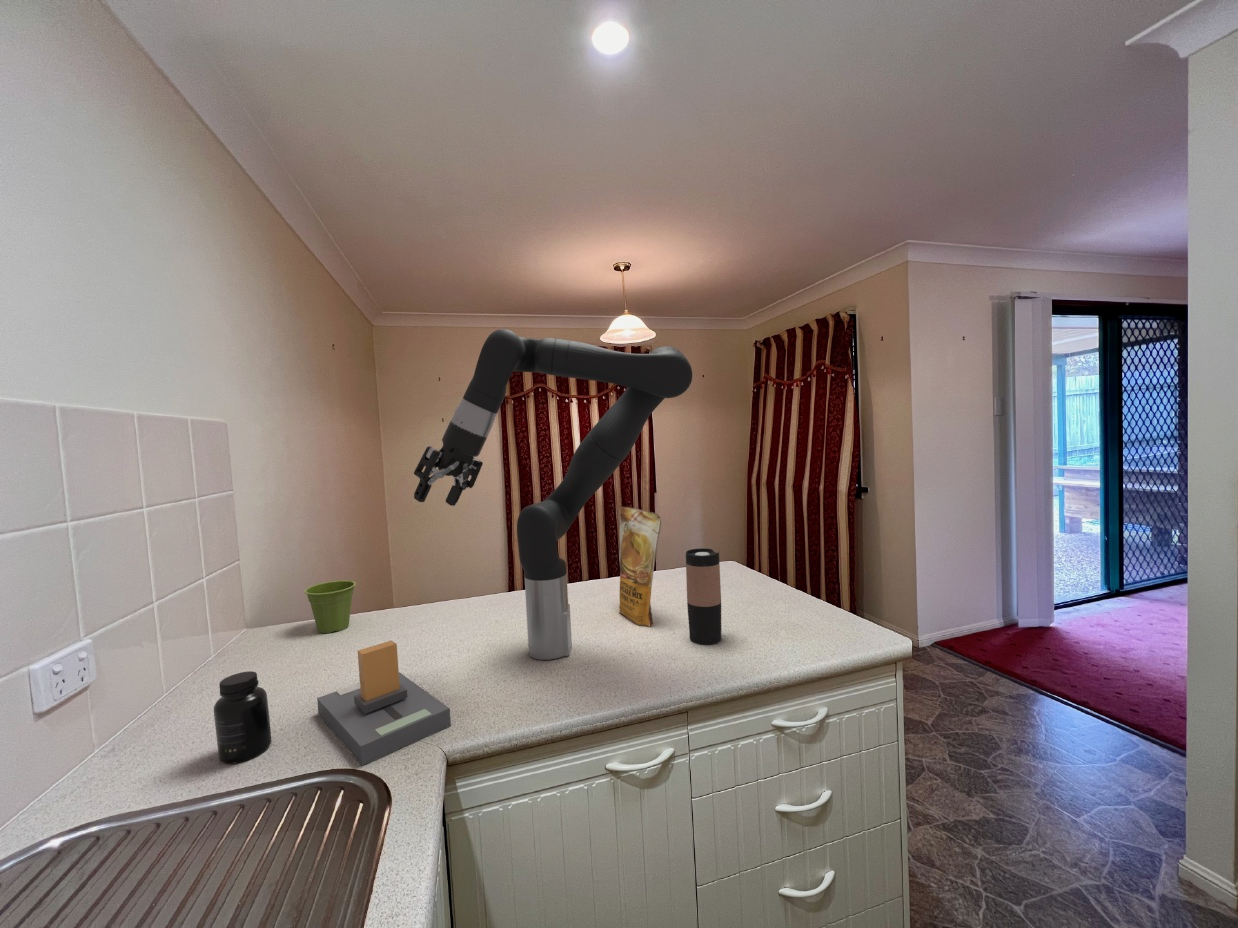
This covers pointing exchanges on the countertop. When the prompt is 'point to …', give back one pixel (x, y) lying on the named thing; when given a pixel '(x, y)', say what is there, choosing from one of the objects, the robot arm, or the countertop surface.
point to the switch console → (383, 720)
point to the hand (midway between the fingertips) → (434, 502)
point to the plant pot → (331, 604)
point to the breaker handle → (378, 677)
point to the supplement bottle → (241, 718)
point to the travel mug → (703, 596)
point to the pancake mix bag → (637, 562)
